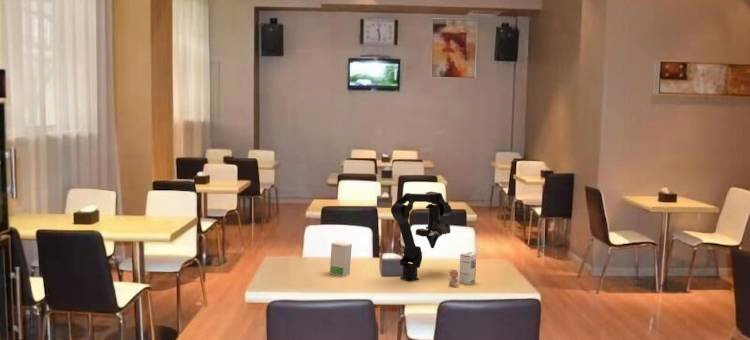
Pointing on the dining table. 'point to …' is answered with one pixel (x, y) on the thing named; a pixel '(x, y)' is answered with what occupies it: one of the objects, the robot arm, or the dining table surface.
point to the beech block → (453, 281)
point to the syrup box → (467, 268)
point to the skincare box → (340, 258)
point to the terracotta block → (454, 273)
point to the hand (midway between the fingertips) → (432, 248)
